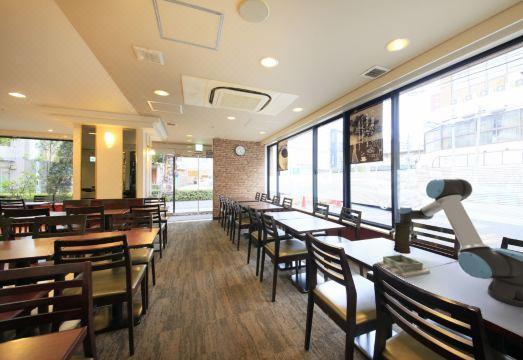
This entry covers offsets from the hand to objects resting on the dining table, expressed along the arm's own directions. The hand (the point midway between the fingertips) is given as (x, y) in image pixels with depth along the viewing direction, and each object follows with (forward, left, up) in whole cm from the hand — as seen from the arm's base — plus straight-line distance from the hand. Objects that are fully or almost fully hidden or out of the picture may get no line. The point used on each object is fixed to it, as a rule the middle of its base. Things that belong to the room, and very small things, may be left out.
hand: (401, 237), depth 132 cm
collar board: (+3, -4, -21) cm, 21 cm away
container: (+3, -4, -10) cm, 11 cm away
